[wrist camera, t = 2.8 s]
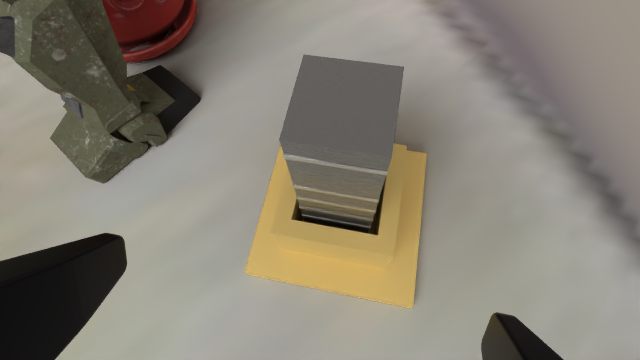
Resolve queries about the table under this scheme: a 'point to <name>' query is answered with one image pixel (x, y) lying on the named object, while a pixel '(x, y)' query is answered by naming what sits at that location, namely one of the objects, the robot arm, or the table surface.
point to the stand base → (345, 238)
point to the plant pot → (149, 25)
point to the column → (341, 138)
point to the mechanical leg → (92, 83)
